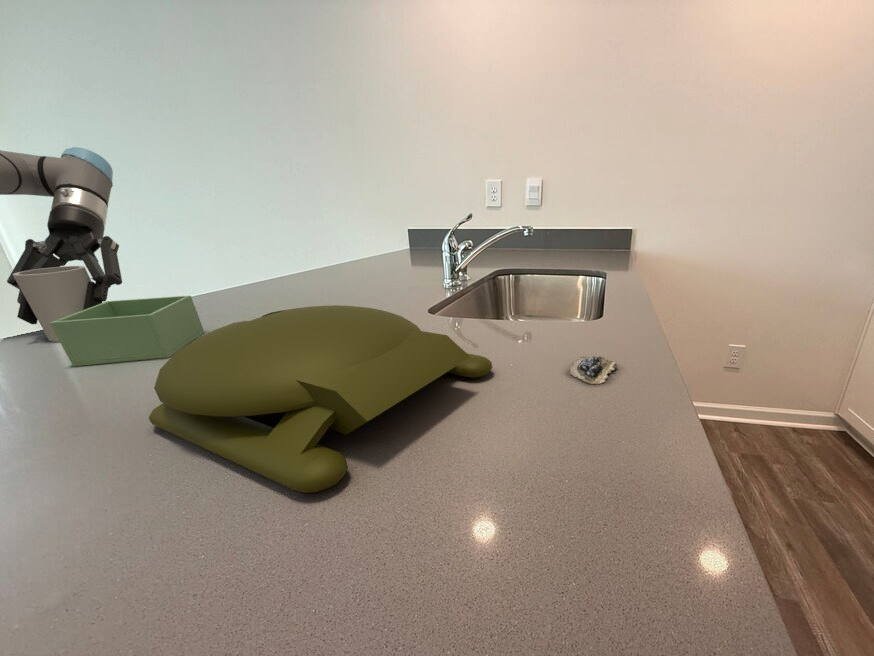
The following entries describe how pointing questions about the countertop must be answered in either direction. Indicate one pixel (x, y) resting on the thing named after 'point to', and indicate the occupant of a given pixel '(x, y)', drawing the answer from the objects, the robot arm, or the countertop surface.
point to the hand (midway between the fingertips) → (59, 318)
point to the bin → (128, 330)
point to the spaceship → (299, 385)
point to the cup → (54, 293)
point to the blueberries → (592, 369)
